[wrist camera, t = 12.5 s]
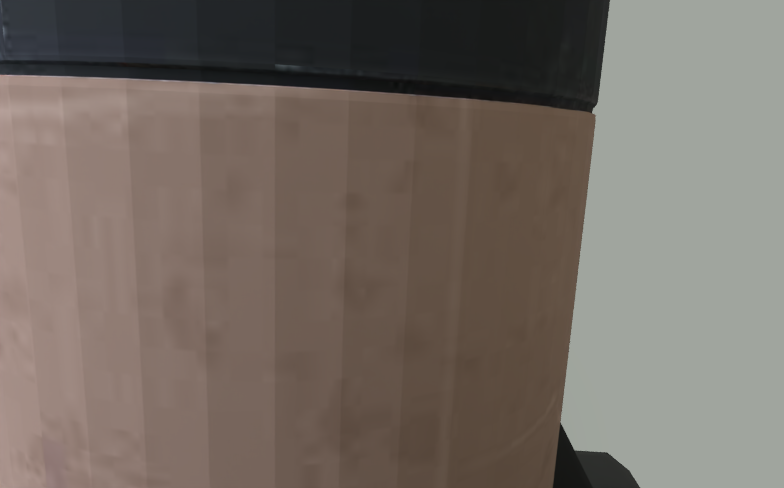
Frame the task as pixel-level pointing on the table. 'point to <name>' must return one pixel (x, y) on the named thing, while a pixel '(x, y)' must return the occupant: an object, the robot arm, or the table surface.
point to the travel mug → (290, 240)
